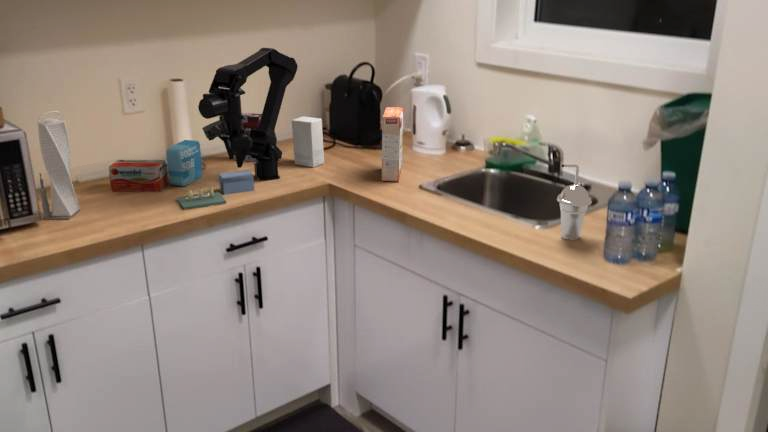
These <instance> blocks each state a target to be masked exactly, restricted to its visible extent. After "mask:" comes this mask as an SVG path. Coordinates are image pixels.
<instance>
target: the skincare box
mask: <svg viewBox="0 0 768 432" xmlns="http://www.w3.org/2000/svg"><path fill="white" fill-rule="evenodd" d="M291 130H292V140H293V141H292V142H293V143H292V144H293V154H294V165H297V166H303V167H308V168H316V167H319V166H321V165H322V164H325V155H324V152H325V151H324V139H323V120H322V118H320V117H311V116H305V115H304V116H303V115H302V116H300V117H297V118H294V119H292V120H291Z"/></svg>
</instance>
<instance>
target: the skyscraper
mask: <svg viewBox="0 0 768 432" xmlns="http://www.w3.org/2000/svg"><path fill="white" fill-rule="evenodd" d="M52 113H56V117H55V118H53V117H52V118H51V117H50V118H46V119H44V121H41V120H42V119H43V117H45V116H47V115H49V114H52ZM59 117H60V111H59V110H51V111H50V110H49V111H47V112H45V113H43V114H41V115H40V117H39V118H38V121H37V131H38V141H39V147H40V148H39V150H40V154H41V157H42V158H41V159H42V161H43V165H44V168H45V171H46V173H47V175H48V176H47V177H48V178H49V181H50V184H49V185H50V186H49V187H50V200H51V201H50V203H51V204H49V200H48V196H47V189H46V188H45V185H44V179H43V178H42V173H39V174H38V175H39V184H40V189H39V192H40V196H41V202H42V203H41V207H42V210H43V217H42V220H51V221H52V220H54V221H55V220H56V221H57V220H58V221H69V220H71V219H72V218H73V217H74V216H75V215H77V214H78V213H79V212H80V211H81V209H80V205H79V202H78V198H77V195H76V191H75V188H74V185H73V182H72V178H71V176H70V174H71V165H72V153H71V144H70V138H69V132H68V128H67V124H66V121H65V120H59ZM50 205H51V211H50Z"/></svg>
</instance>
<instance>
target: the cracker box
mask: <svg viewBox="0 0 768 432" xmlns="http://www.w3.org/2000/svg"><path fill="white" fill-rule="evenodd" d="M381 122H382V125H381V126H382V128H381V129H382V131H381V136H382V137H381V181H382V182H399V181H400V176H401V173H402V166H403V141H404V140H403V139H404V137H403V136H404V133H403V132H404V107H398V106H397V107H396V106H395V107H393V106H392V107H391V106H387V107H385V110H384V113H383V115H382V121H381Z"/></svg>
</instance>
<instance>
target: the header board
mask: <svg viewBox="0 0 768 432" xmlns="http://www.w3.org/2000/svg"><path fill="white" fill-rule="evenodd" d="M176 199H177V201H178V203H179V205H180V207H181V208H182V209H183V211H185V210H192V209H199V208H204V207H212V206H211V205H213V206H219V205H226V204H227V200H226V199H225V197H224V196H223V194H221V192H220V191H214V187H213V186H210V187H208V192H205V193H204V189H203V188H198V194H193V190H192V189H188V190H187V195H183V196H178V197H176Z"/></svg>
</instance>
